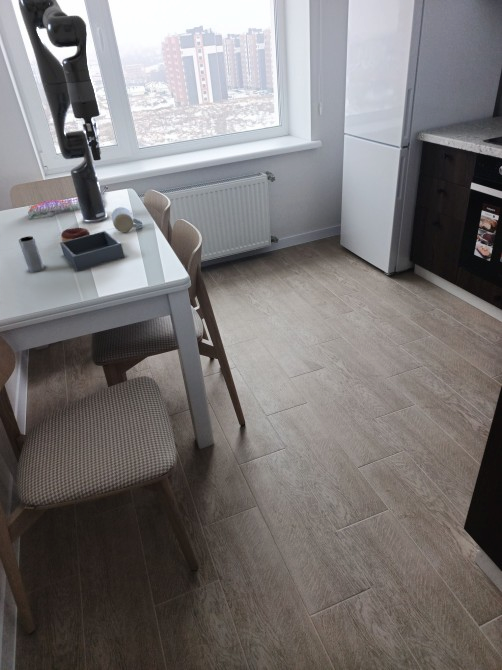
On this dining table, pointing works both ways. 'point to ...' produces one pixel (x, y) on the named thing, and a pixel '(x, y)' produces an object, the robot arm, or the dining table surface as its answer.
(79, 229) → the donut
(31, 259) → the white and black tumbler
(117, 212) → the ceramic mug
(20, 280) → the dining table surface
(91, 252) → the dark grey open tray
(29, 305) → the dining table surface
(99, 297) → the dining table surface
